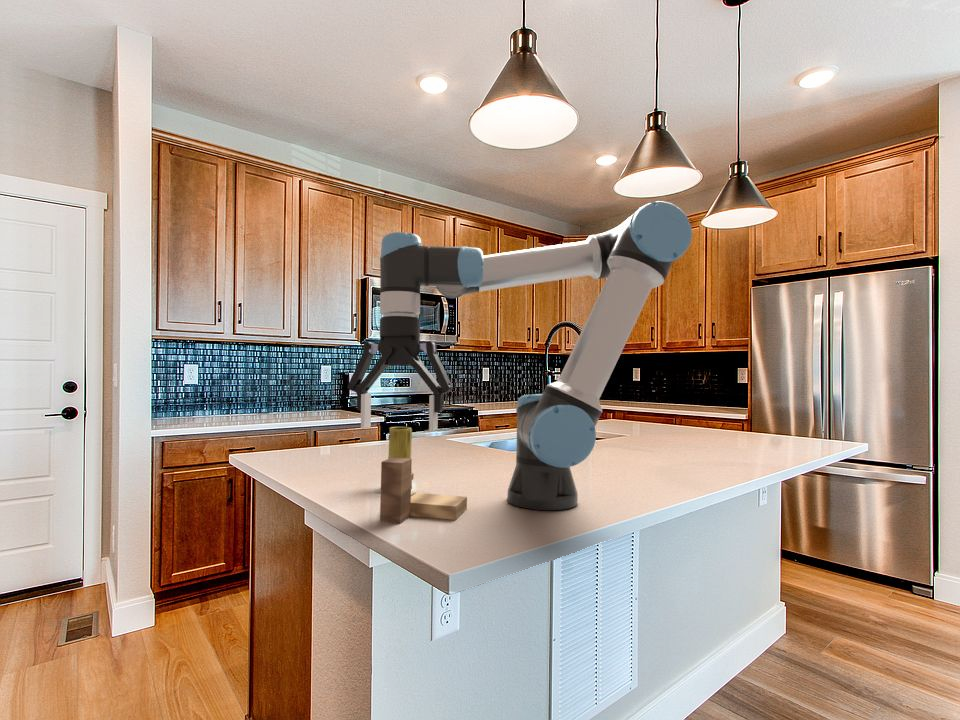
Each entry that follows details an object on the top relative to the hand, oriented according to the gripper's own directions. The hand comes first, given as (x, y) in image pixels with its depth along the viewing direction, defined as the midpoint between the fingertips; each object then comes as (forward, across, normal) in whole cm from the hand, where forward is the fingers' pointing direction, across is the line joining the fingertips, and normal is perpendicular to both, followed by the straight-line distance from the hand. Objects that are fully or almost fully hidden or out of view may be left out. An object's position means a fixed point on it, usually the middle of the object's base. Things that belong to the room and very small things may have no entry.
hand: (399, 429), depth 99 cm
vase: (+17, +10, -24) cm, 31 cm away
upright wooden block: (+17, +1, -2) cm, 17 cm away
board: (+17, -4, -7) cm, 19 cm away
